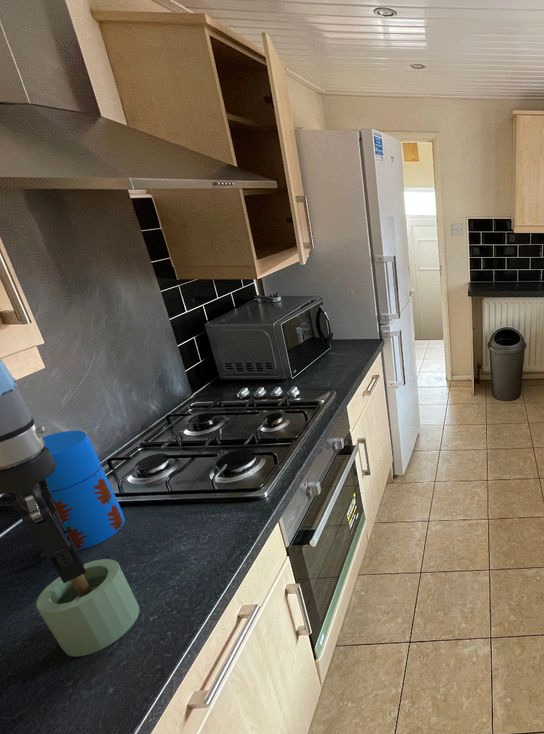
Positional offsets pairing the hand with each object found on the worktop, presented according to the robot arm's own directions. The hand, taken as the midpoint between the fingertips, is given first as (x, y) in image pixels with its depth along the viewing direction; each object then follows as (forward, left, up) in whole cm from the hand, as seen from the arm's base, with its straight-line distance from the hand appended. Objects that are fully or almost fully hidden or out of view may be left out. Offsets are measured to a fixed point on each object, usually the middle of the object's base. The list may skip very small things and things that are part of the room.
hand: (73, 572), depth 70 cm
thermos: (+3, +29, -14) cm, 32 cm away
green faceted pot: (0, 0, -14) cm, 14 cm away
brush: (0, 0, -10) cm, 10 cm away
